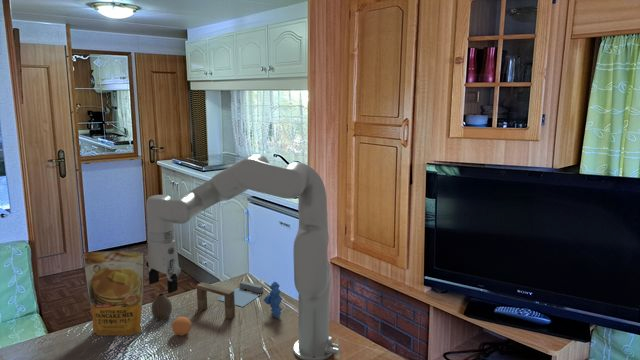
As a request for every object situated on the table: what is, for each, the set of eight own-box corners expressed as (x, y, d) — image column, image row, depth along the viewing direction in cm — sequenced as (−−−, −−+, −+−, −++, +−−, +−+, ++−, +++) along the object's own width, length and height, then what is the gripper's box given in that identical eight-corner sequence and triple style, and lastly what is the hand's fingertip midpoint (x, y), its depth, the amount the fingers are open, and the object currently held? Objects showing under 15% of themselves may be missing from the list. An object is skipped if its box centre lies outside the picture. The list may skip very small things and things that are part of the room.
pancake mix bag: (94, 326, 156) (86, 249, 150) (150, 325, 156) (144, 249, 151) (85, 336, 149) (76, 256, 144) (143, 336, 150) (137, 256, 144)
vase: (175, 313, 165) (174, 290, 164) (167, 322, 159) (166, 299, 157) (157, 312, 166) (155, 289, 164) (148, 321, 159) (146, 298, 158)
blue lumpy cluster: (262, 307, 170) (262, 277, 168) (280, 306, 171) (280, 276, 169) (265, 323, 159) (264, 291, 157) (284, 321, 160) (284, 289, 158)
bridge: (203, 306, 171) (202, 282, 169) (234, 315, 164) (234, 290, 162) (197, 309, 168) (196, 285, 166) (229, 319, 161) (228, 294, 159)
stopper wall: (262, 291, 183) (262, 286, 183) (260, 293, 182) (259, 287, 181) (243, 286, 188) (242, 280, 187) (240, 288, 186) (239, 282, 186)
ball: (195, 332, 153) (194, 315, 151) (182, 340, 147) (181, 323, 146) (182, 327, 155) (181, 311, 154) (168, 336, 150) (167, 319, 149)
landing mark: (261, 294, 181) (261, 294, 181) (242, 307, 170) (242, 306, 170) (237, 288, 186) (237, 287, 186) (217, 300, 176) (217, 299, 176)
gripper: (188, 238, 137) (190, 291, 141) (155, 226, 147) (157, 276, 151) (167, 244, 131) (169, 299, 135) (134, 232, 141) (136, 283, 145)
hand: (163, 287), depth 143 cm, fingers open, 9 cm apart
